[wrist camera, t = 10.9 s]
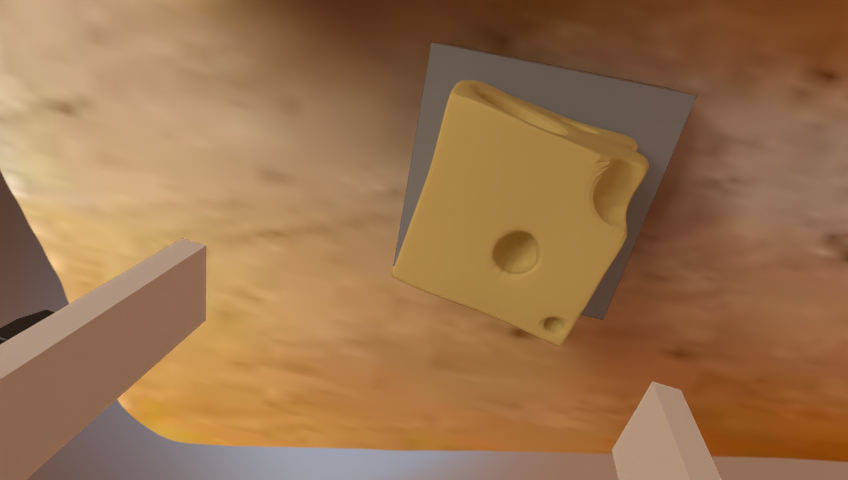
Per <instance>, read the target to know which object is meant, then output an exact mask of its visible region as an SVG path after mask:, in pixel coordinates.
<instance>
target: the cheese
mask: <svg viewBox="0 0 848 480" xmlns="http://www.w3.org/2000/svg"><path fill="white" fill-rule="evenodd" d="M637 149H638V145H637V143H636V141H635V140H634V139H632V138H630V137H628V136H626V135H623V134H620V133H617V132H613V131H609V130H605V129H602V128H598V127H594V126H591V125H587V124H584V123H581V122H578V121H575V120H572V119H570V118H567V117H564V116H562V115H560V114H557V113H555V112H552V111H550V110H547V109H544V108H542V107H539V106H537V105H534V104H532V103H529V102H527V101H524V100H522V99H519V98H517V97H514V96H512V95H509V94H507V93H505V92H503V91H501V90H499V89H497V88H495V87H493V86H491V85H488V84H486V83H483V82H480V81H476V80H462V81H460V82H458V83H457V84H456V85H455V87H454V88H453V89H452V91H451V93H450V96H449V99H448V102H447V106H446V109H445V113H444V117H443V121H442V125H441V129H440V133H439V137H438V140H437V144H436V148H435V152H434V155H433V159H432V162H431V166H430V169H429V172H428V175H427V178H426V181H425V184H424V187H423V190H422V192H421V195H420V198H419V201H418V204H417V206H416V209H415V212H414V214H413V217H412V220H411V223H410V225H409V228H408V231H407V234H406V236H405V239H404V242H403V245H402V247H401V250H400V253H399V255H398V258H397V260H396V263H395V266H394V268H393V271H392V277H394V278H396V279H398V280H400V281H402V282H404V283H406V284H409V285H411V286H413V287H415V288H418V289H420V290H423V291H425V292H428V293H430V294H433V295H436V296H439V297H442V298H444V299H447V300H450V301H453V302H455V303H458V304H461V305H464V306H466V307H469V308H472V309H474V310H477V311H480V312H482V313H485V314H487V315H490V316H492V317H495V318H497V319H499V320H502V321H504V322H506V323H509V324H511V325H513V326H515V327H517V328H520V329H522V330H524V331H526V332H528V333H530V334H532V335H534V336H536V337H538V338H541V339H543V340H545V341H547V342H549V343H552V344H554V345H557V346H561V345H562V344H563V342H564V341H565V339H566V338H567V336H568V335H569V333H570V332H571V330H572V328H573V327H574V325H575V323H576V321H577V320H578V318H579V316H580V315H581V313H582V311H583V310H584V309H585V307H586V305H587V304H588V302H589V300H590V299H591V297H592V295H593V294H594V292H595V290H596V288H597V287H598V285H599V283H600V281H601V280H602V278H603V277H604V275H605V273H606V272H607V270H608V268H609V267H610V265H611V264H612V262H613V261H614V259H615V258H616V256H617V254H618V253H619V251H620V249H621V248H622V246H623V244H624V241H625V239H626V237H627V223H626V212H627V208H628V205H629V203H630V200H631V198H632V196H633V195H634V193H635V191H636V190H637V188H638V187H639V185H640V184H641V182H642V181H643V179H644V177H645V175H646V173H647V171H648V169H649V163H648V161H647V159H646V158H645V157H644V156H643V155H642V154H640V153H638V152H636V151H637Z"/></svg>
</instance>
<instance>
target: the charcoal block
mask: <svg viewBox="0 0 848 480" xmlns="http://www.w3.org/2000/svg"><path fill="white" fill-rule="evenodd" d="M462 80H476V81H480V82H483V83H486V84H488V85H491V86H493V87H495V88H497V89H499V90H501V91H503V92H505V93H507V94H509V95H512V96H514V97H517V98H519V99H522V100H524V101H527V102H529V103H532V104H534V105H537V106H539V107H542V108H544V109H547V110H550V111H552V112H555V113H557V114H560V115H562V116H564V117H567V118H570V119H572V120H575V121H578V122H581V123H584V124H587V125H591V126H594V127H598V128H602V129H605V130H609V131H613V132H617V133H620V134H623V135H626V136H628V137H630V138H632V139H634V140H635V141H636V143H637V145H638V149H637V151H636V152H638V153H640V154H642V155H643V156H644V157H645V158H646V159H647V161H648V163H649V169H648V171H647V173H646V175H645V177H644V179H643V181H642V182H641V184H640V185H639V187H638V188H637V190H636V191H635V193H634V195H633V196H632V198H631V200H630V203H629V205H628V208H627V212H626V223H627V237H626V239H625V241H624V244H623V246H622V248H621V249H620V251H619V253H618V254H617V256H616V258H615V259H614V261H613V262H612V264H611V265H610V267H609V268H608V270H607V272H606V273H605V275H604V277H603V278H602V280H601V281H600V283H599V285H598V287H597V288H596V290H595V292H594V294H593V295H592V297H591V299H590V300H589V302H588V304H587V305H586V307H585V309H584V310H583V311H582V313H581V315H585V316H589V317H593V318H596V319H600V320H603V319H604V317H605V314H606V312H607V310H608V307H609V305H610V302H611V300H612V298H613V295H614V293H615V290H616V288H617V286H618V283H619V281H620V278H621V276H622V274H623V271H624V269H625V266H626V264H627V262H628V259H629V257H630V254H631V252H632V250H633V247H634V245H635V242H636V240H637V238H638V235H639V233H640V230H641V228H642V226H643V223H644V221H645V219H646V216H647V214H648V211H649V209H650V207H651V204H652V202H653V199H654V197H655V195H656V192H657V190H658V187H659V185H660V183H661V180H662V178H663V175H664V173H665V171H666V168H667V166H668V163H669V161H670V159H671V156H672V154H673V151H674V149H675V147H676V144H677V142H678V139H679V137H680V135H681V132H682V130H683V128H684V125H685V123H686V120H687V118H688V116H689V113H690V111H691V108H692V106H693V104H694V101H695V99H696V95H692V94H689V93H685V92H681V91H678V90H674V89H670V88H666V87H661V86H656V85H651V84H646V83H641V82H636V81H631V80H626V79H621V78H616V77H611V76H606V75H601V74H596V73H591V72H586V71H581V70H576V69H571V68H566V67H561V66H556V65H551V64H546V63H541V62H536V61H531V60H526V59H521V58H516V57H511V56H506V55H501V54H496V53H491V52H486V51H481V50H476V49H471V48H466V47H461V46H456V45H451V44H446V43H431V48H430V54H429V59H428V65H427V71H426V77H425V83H424V89H423V95H422V101H421V107H420V112H419V118H418V124H417V130H416V136H415V142H414V148H413V154H412V160H411V165H410V171H409V177H408V183H407V189H406V195H405V201H404V207H403V212H402V218H401V224H400V230H399V236H398V242H397V248H396V254H395V260H394V265H393V266H395V263H396V260H397V258H398V255H399V253H400V250H401V247H402V245H403V242H404V239H405V236H406V234H407V231H408V228H409V225H410V223H411V220H412V217H413V214H414V212H415V209H416V206H417V204H418V201H419V198H420V195H421V192H422V190H423V187H424V184H425V181H426V178H427V175H428V172H429V169H430V166H431V162H432V159H433V155H434V152H435V148H436V144H437V140H438V137H439V133H440V129H441V125H442V121H443V117H444V113H445V109H446V106H447V102H448V99H449V96H450V93H451V91H452V89H453V88H454V87H455V85H456V84H457V83H458V82H460V81H462Z"/></svg>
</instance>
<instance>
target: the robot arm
mask: <svg viewBox="0 0 848 480" xmlns="http://www.w3.org/2000/svg"><path fill="white" fill-rule="evenodd" d="M205 320H206V245H203V244H200V243H197V242H193V241H190V240H187V239H183V238H182V239H180V240H178V241H177V242H175V243H173V244H172V245H170V246H168V247H166V248H165V249H163V250H161V251H160V252H158V253H156V254H154V255H153V256H151V257H149V258H148V259H146V260H144V261H143V262H141V263H139V264H137V265H136V266H134V267H132V268H131V269H129V270H127V271H125V272H124V273H122V274H120V275H119V276H117V277H115V278H113V279H112V280H110V281H108V282H107V283H105V284H103V285H101V286H100V287H98V288H96V289H95V290H93V291H91V292H89V293H88V294H86V295H84V296H83V297H81V298H79V299H77V300H76V301H74V302H72V303H71V304H69V305H67V306H65V307H64V308H62V309H60V310H59V311H57V312H51V311H49V310H44V311H41V312H38V313H35V314H32V315H29V316H25V317H22V318H19V319H16V320H15V321H13V322H11V323H9V324H8V325H6V326H4V327H2V328H0V480H26V479H27V478H28V477H29V476H30V475H31V474H32V473H34V472H35V471H36V470H37V469H38V468H39V467H40V466H42V465H43V464H44V463H45V462H46V461H47V460H48V459H50V458H51V457H52V456H53V455H54V454H55V453H56V452H57V451H59V450H60V449H61V448H62V447H63V446H64V445H65V444H66V443H68V442H69V441H70V440H71V439H72V438H73V437H74V436H75V435H77V434H78V433H79V432H80V431H81V430H82V429H83V428H84V427H86V426H87V425H88V424H89V423H90V422H91V421H92V420H94V419H95V418H96V417H97V416H98V415H99V414H100V413H101V412H103V411H104V410H105V409H106V408H107V407H108V406H109V405H110V404H112V403H113V402H114V401H115V400H116V399H117V398H118V397H120V396H121V395H122V394H123V393H124V392H125V391H126V390H127V389H129V388H130V387H131V386H132V385H133V384H134V383H135V382H136V381H138V380H139V379H140V378H141V377H142V376H143V375H144V374H145V373H147V372H148V371H149V370H150V369H151V368H152V367H153V366H155V365H156V364H157V363H158V362H159V361H160V360H161V359H162V358H164V357H165V356H166V355H167V354H168V353H169V352H170V351H171V350H173V349H174V348H175V347H176V346H177V345H178V344H179V343H180V342H182V341H183V340H184V339H185V338H186V337H187V336H188V335H190V334H191V333H192V332H193V331H194V330H195V329H196V328H197V327H199V326H200V325H201V324H202V323H203V322H204V321H205ZM612 453H613V458H614V462H615V467H616V471H617V476H618V480H722V479H721V477H720V475H719V473H718V470H717V468H716V466H715V464H714V462H713V459H712V457H711V455H710V453H709V451H708V448H707V446H706V444H705V442H704V440H703V437H702V435H701V433H700V431H699V429H698V426H697V424H696V422H695V420H694V418H693V415H692V413H691V411H690V409H689V407H688V404H687V402H686V400H685V398H684V396H683V393H682V391H681V390H679V389H676V388H673V387H669V386H666V385H663V384H660V383H656V382H653V381H652V383H651V385H650V386H649V388H648V390H647V391H646V393H645V395H644V396H643V398H642V400H641V401H640V403H639V405H638V407H637V408H636V410H635V412H634V413H633V415H632V417H631V418H630V420H629V422H628V424H627V425H626V427H625V429H624V430H623V432H622V434H621V435H620V437H619V439H618V440H617V442H616V444H615V446H614V447H613V449H612Z"/></svg>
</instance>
